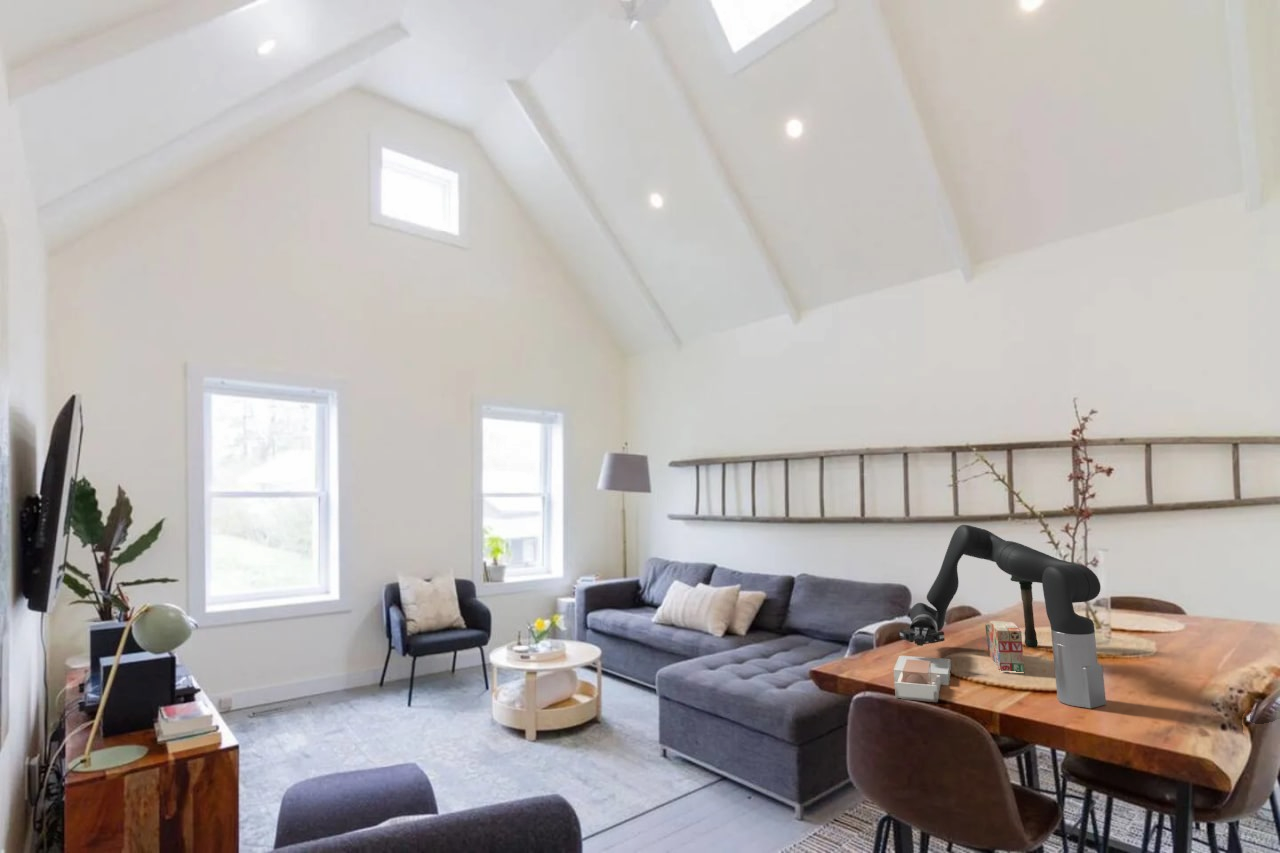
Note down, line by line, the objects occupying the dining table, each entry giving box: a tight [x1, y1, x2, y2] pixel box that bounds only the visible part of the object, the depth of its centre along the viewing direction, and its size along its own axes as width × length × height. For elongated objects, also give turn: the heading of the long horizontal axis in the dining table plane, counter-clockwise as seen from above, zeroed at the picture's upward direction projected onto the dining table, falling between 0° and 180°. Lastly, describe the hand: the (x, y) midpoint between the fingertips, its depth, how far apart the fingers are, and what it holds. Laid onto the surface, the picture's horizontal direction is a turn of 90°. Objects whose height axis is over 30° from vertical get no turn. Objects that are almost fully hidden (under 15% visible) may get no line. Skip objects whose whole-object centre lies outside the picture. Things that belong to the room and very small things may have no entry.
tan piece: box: [902, 659, 932, 685], centre depth 179 cm, size 6×6×13 cm
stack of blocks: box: [985, 620, 1025, 673], centre depth 201 cm, size 21×6×12 cm, turn 161°
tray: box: [894, 672, 942, 703], centre depth 179 cm, size 15×10×4 cm, turn 153°
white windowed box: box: [893, 655, 952, 686], centre depth 193 cm, size 16×14×3 cm
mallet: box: [1010, 575, 1039, 648], centre depth 219 cm, size 8×9×30 cm
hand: (919, 642), depth 192 cm, fingers closed
